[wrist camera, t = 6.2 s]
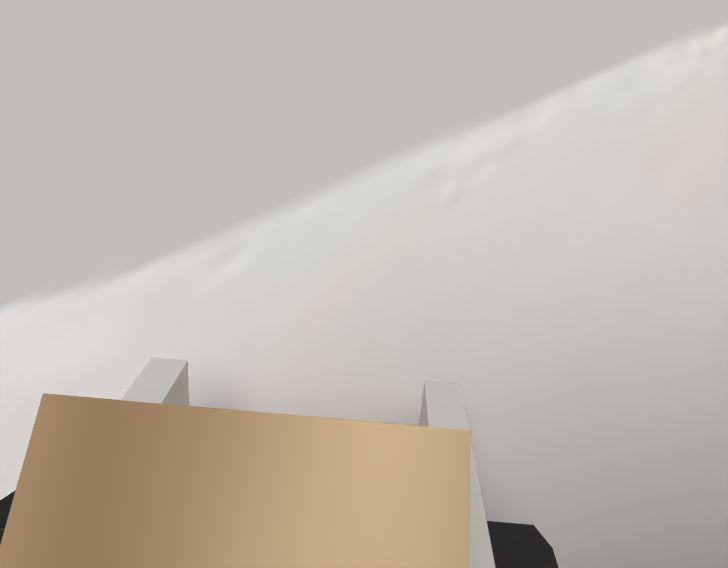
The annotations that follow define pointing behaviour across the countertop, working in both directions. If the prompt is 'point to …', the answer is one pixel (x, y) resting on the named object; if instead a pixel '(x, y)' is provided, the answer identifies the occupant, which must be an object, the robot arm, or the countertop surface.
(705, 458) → the countertop surface
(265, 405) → the countertop surface
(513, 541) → the robot arm
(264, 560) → the oak block
